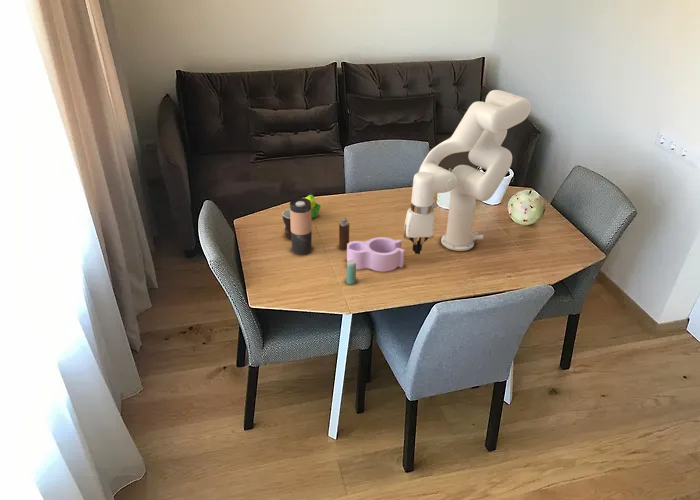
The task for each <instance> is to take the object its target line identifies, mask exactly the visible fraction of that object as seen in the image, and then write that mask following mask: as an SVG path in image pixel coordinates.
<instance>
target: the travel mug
mask: <svg viewBox="0 0 700 500" xmlns="http://www.w3.org/2000/svg"><path fill="white" fill-rule="evenodd" d="M289 207H290V208H289V209H290V221H291V240H290V241H291V250H292V252H293V254H295V255H299V256H304V255H308V254H309V253H311V251H312V233H313V232H312V231H313V229H312V219H311V201H310V200H309V199H306V198H305V197H295V198H293V199H291V200H290V201H289Z"/></svg>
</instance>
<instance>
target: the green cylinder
mask: <svg viewBox="0 0 700 500" xmlns="http://www.w3.org/2000/svg"><path fill="white" fill-rule="evenodd" d="M346 261H347V260H346ZM345 279H346V283H347V284H348V285H354V284H356V282H357V281H356V280H357V269H356V261H355V260H348V261H347V262H346V278H345Z"/></svg>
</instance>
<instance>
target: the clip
mask: <svg viewBox="0 0 700 500" xmlns="http://www.w3.org/2000/svg"><path fill="white" fill-rule="evenodd" d="M405 251H406V249H404V248H402V240H401V239H397V240H396V239H394V238H390V237H386V236H377V237H373V238H369V239H368V240H363V241H362V240H353V241H349V243H348V244H347V250H346V261H348V260H355V261H356V270H363V269H370V270H372V271H375V272H381V273H383V272H384V273H385V272H391V271H393V270H395V269H397V268H404V263H405Z"/></svg>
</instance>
